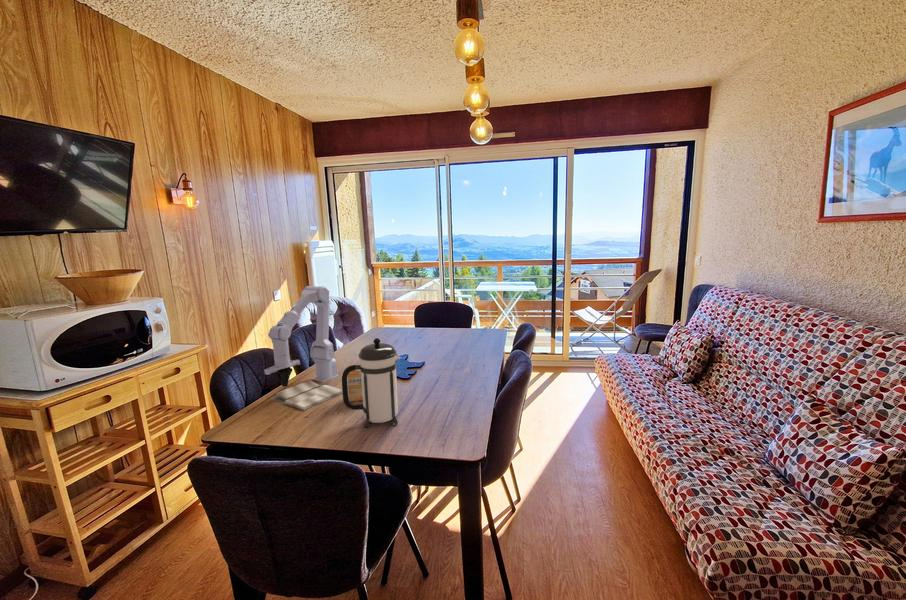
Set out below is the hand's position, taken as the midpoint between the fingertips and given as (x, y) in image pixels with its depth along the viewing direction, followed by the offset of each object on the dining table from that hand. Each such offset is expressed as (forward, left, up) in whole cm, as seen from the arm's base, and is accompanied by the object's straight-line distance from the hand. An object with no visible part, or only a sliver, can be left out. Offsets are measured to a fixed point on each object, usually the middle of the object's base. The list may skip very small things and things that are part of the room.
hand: (284, 385), depth 151 cm
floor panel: (-5, +8, -5) cm, 11 cm away
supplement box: (-14, +28, -5) cm, 32 cm away
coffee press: (-4, +48, -5) cm, 49 cm away
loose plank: (-5, +2, -4) cm, 6 cm away
